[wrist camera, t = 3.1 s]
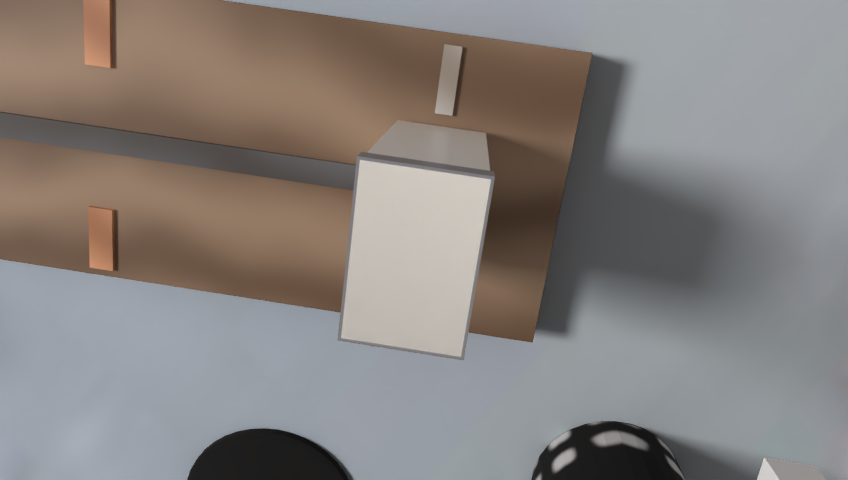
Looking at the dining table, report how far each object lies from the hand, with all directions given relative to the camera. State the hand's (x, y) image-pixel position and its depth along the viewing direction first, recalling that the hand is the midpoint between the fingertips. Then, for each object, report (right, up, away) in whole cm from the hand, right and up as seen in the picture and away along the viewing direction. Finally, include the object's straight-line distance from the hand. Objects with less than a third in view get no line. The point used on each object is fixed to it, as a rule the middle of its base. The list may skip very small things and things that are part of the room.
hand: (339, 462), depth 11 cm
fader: (+2, +6, +19) cm, 20 cm away
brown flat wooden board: (-8, +8, +22) cm, 25 cm away
